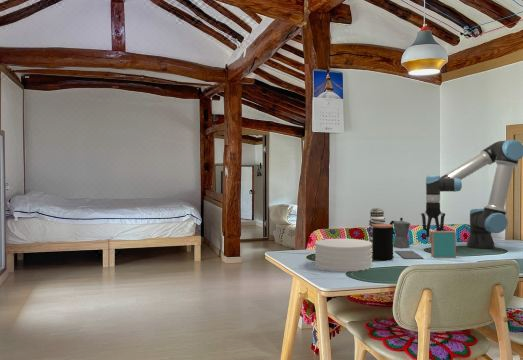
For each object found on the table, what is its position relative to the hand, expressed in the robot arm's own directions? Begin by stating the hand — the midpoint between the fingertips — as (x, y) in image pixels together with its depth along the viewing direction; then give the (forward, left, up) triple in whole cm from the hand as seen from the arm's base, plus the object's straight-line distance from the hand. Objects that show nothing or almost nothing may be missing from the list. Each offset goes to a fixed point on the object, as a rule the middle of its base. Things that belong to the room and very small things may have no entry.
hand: (433, 242), depth 269 cm
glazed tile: (0, +18, -5) cm, 19 cm away
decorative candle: (+32, +1, -5) cm, 32 cm away
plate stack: (+56, +39, -6) cm, 68 cm away
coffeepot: (+15, -16, -5) cm, 23 cm away
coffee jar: (+33, +22, -5) cm, 40 cm away
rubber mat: (+17, +12, -5) cm, 21 cm away
